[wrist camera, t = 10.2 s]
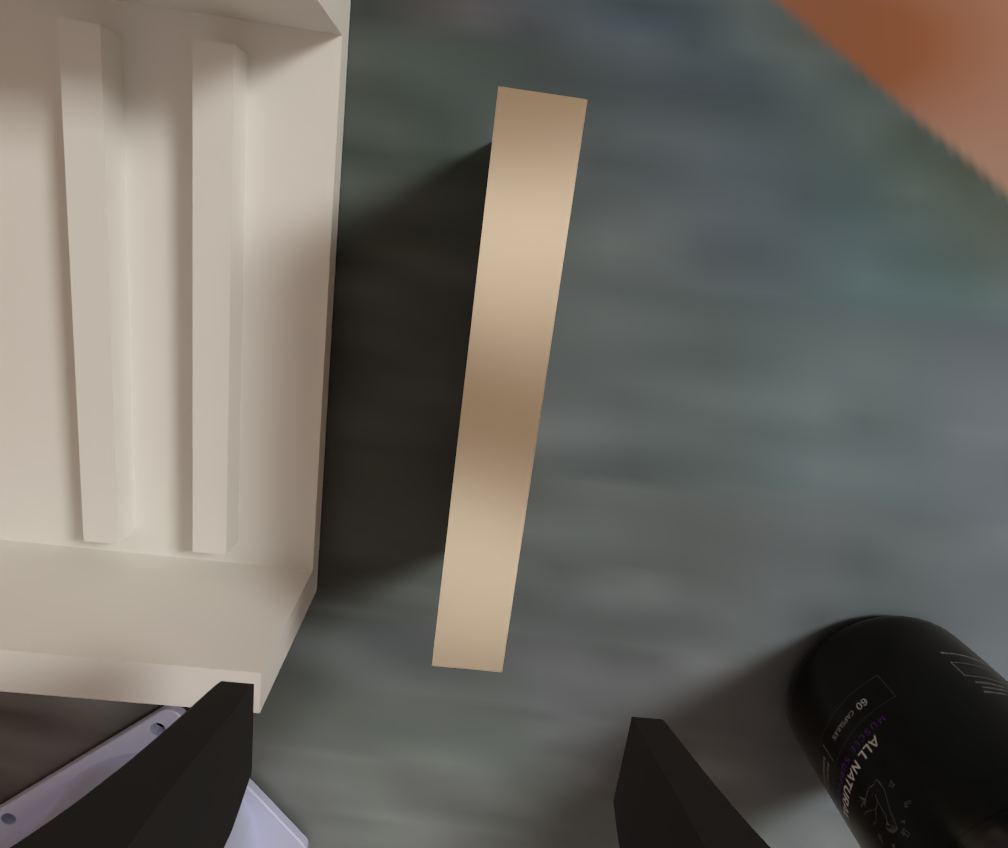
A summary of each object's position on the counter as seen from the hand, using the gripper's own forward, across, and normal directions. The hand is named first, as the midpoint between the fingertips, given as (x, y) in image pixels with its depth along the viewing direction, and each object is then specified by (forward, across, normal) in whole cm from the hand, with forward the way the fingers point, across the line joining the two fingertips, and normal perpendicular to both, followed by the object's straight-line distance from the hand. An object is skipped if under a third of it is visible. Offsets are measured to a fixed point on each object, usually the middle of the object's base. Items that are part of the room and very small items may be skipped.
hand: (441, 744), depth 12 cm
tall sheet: (+10, 0, -6) cm, 12 cm away
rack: (+10, +12, -6) cm, 16 cm away
